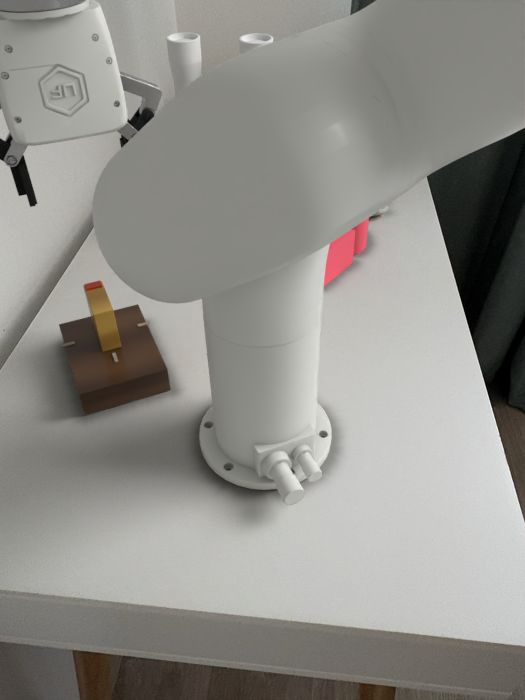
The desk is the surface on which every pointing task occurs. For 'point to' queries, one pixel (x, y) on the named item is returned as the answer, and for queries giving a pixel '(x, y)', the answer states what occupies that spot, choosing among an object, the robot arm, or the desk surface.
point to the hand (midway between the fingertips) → (83, 190)
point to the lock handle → (102, 315)
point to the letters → (345, 250)
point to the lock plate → (114, 362)
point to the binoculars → (199, 54)
